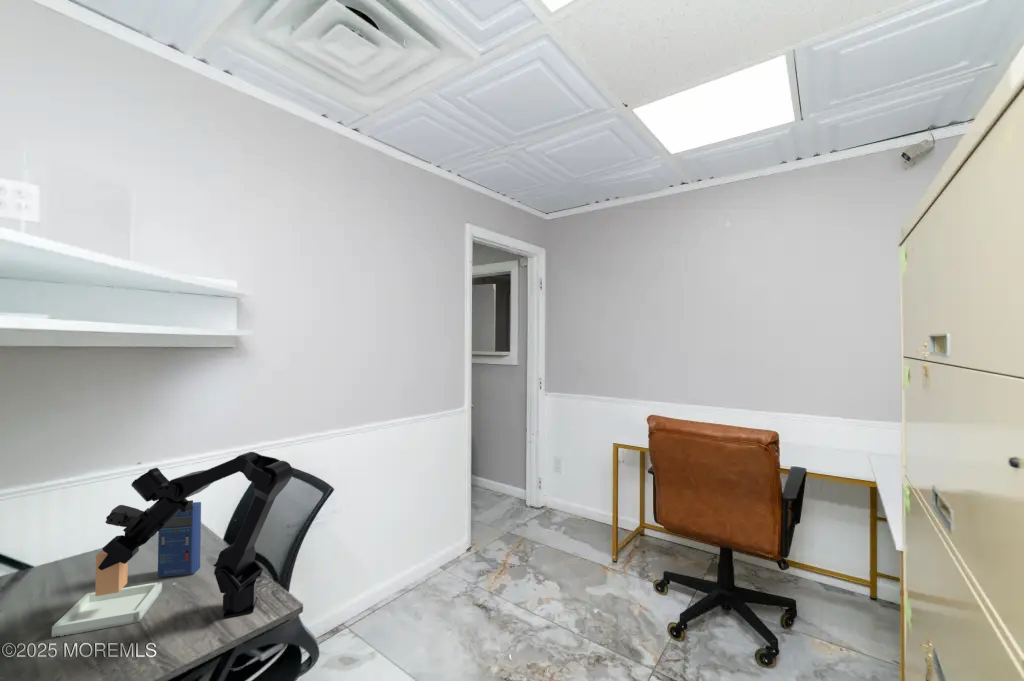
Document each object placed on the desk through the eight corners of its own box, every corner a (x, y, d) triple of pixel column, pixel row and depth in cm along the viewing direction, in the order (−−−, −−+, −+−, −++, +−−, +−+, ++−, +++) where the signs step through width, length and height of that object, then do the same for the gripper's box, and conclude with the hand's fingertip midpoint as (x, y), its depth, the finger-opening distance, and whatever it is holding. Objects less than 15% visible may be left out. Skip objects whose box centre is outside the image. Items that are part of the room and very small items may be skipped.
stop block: (127, 582, 110) (127, 544, 110) (118, 592, 106) (119, 552, 106) (105, 586, 108) (105, 547, 108) (95, 596, 104) (95, 555, 104)
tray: (161, 590, 116) (162, 581, 116) (138, 622, 103) (138, 611, 103) (86, 603, 111) (86, 593, 111) (51, 638, 98) (51, 627, 98)
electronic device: (155, 579, 122) (156, 509, 122) (166, 569, 127) (167, 503, 127) (192, 575, 124) (193, 507, 124) (201, 566, 129) (202, 500, 129)
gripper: (148, 483, 117) (96, 529, 113) (114, 507, 100) (51, 563, 96) (182, 508, 120) (133, 554, 116) (155, 536, 103) (95, 591, 99)
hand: (105, 564), depth 107 cm, fingers closed on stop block, 4 cm apart
